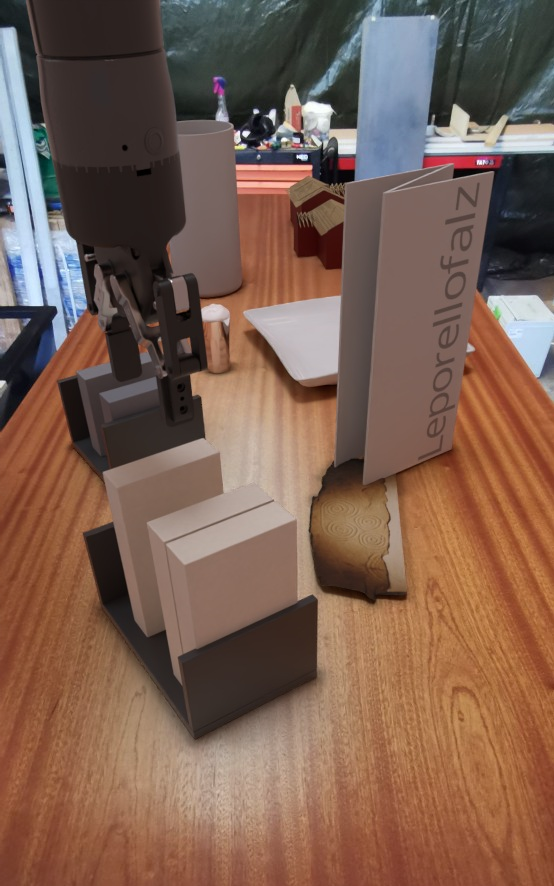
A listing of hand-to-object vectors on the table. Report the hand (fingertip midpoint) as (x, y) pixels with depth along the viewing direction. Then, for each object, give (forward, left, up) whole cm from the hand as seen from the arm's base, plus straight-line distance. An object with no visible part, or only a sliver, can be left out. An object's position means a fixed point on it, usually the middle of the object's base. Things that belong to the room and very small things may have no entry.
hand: (152, 399), depth 54 cm
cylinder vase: (+45, +77, -23) cm, 92 cm away
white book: (0, 0, -21) cm, 21 cm away
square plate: (+49, +39, -23) cm, 66 cm away
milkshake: (+29, +46, -23) cm, 58 cm away
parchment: (+22, +3, -22) cm, 31 cm away
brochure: (+34, +11, -22) cm, 42 cm away
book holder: (0, -3, -22) cm, 23 cm away
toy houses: (+78, +79, -23) cm, 113 cm away
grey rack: (+9, +30, -22) cm, 38 cm away
